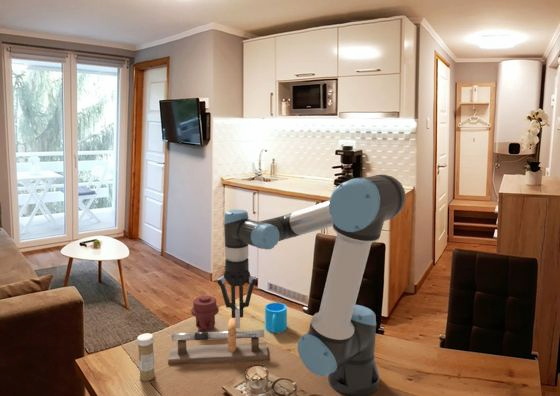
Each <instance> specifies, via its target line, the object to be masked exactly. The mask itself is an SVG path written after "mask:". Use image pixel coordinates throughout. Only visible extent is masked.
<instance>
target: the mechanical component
mask: <svg viewBox="0 0 560 396" xmlns="http://www.w3.org/2000/svg"><path fill="white" fill-rule="evenodd" d="M192 302H193V306H192V307H191V315H192V316H194V317H195V327H196V328H197V330H198V331H197V332H207V331H212V330H214V329H215V325H216V315H217V314H218V313H219V309H220V308H219V306H218V305H217V299H216V298H215V296H211V295H201V296H199V297H195V298H194V299H193V301H192Z"/></svg>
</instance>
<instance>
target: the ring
mask: <svg viewBox="0 0 560 396" xmlns="http://www.w3.org/2000/svg"><path fill="white" fill-rule="evenodd" d="M227 325H228V326H227V327H228V328H227V331H228V339H227V342H228V343H227V344H228V350H229V352H234V351H235V350H236V344H237V339H236V336H235V331H237V328H235V318H232V317H231V318H229V320H228V324H227Z"/></svg>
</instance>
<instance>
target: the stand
mask: <svg viewBox="0 0 560 396" xmlns="http://www.w3.org/2000/svg"><path fill="white" fill-rule="evenodd" d="M250 339H251V341H250V343H247V342H246V343H236V350H235V351H234V352H229V350H228V343H227V344H226V343H225V344H223V343H222V344H206V345H204V344H203V345H202V344H201V345H199V344H198V345H187V341H177V346H176V345H175V346H171V348H170V351H169V355H168V358H167V364H168V365H170V364H172V365H173V364H190V363H192V364H193V363H213V362H214V363H215V362H217V363H218V362H234V361H235V362H236V361H256V360H257V361H260V360H268V359H269V357H268V356H269V354H268V346H267V342H260V341H259V340H260V339H259V338H250Z"/></svg>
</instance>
